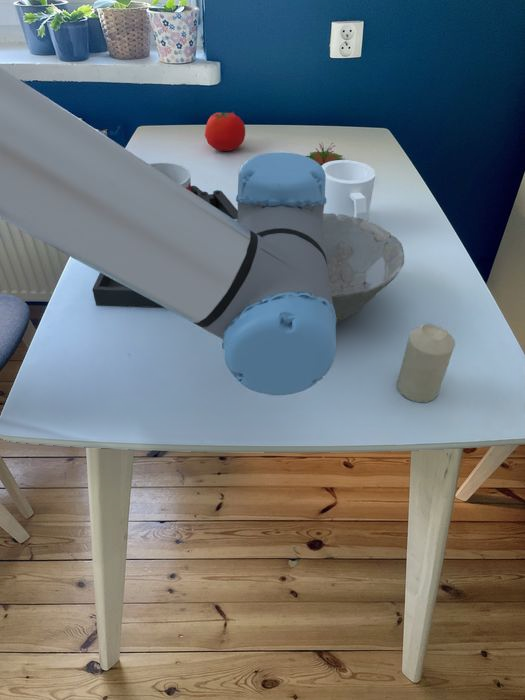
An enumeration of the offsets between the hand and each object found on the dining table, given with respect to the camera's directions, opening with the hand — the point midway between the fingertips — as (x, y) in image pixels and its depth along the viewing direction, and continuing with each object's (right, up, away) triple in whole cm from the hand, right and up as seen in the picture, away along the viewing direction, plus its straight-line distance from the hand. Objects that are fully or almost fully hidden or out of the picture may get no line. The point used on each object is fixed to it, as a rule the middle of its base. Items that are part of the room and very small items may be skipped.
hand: (147, 190), depth 75 cm
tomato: (+7, +27, +57) cm, 64 cm away
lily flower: (+31, +21, +52) cm, 64 cm away
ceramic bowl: (+25, -15, +11) cm, 32 cm away
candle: (+37, -28, -3) cm, 46 cm away
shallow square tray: (-3, -11, +14) cm, 18 cm away
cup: (+2, -7, +1) cm, 8 cm away
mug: (+31, +1, +29) cm, 43 cm away
